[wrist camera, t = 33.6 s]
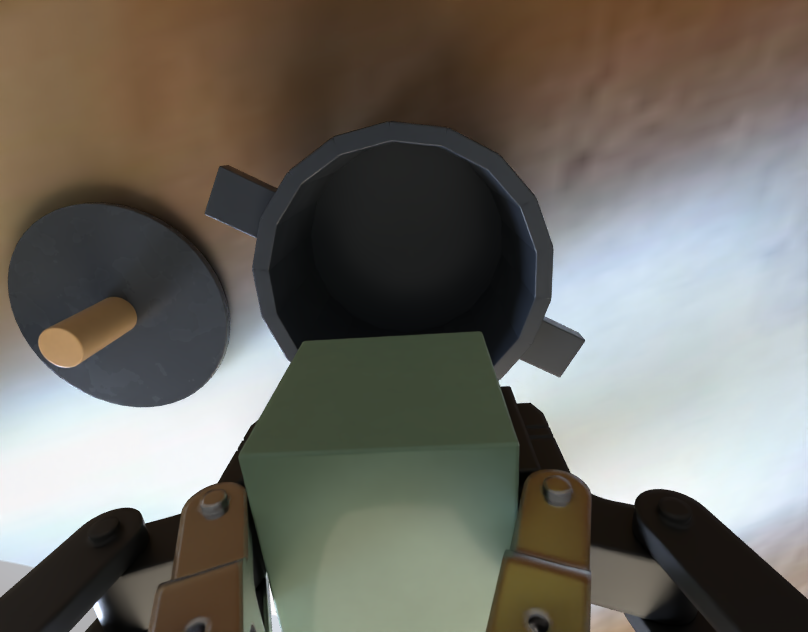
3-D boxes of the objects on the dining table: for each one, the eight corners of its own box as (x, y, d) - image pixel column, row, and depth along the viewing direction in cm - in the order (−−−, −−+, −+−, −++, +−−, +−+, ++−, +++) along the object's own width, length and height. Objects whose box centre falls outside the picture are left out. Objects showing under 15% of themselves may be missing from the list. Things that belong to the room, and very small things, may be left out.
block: (484, 476, 14) (516, 640, 10) (326, 482, 15) (283, 644, 10) (482, 329, 12) (520, 443, 8) (302, 339, 13) (235, 455, 8)
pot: (482, 382, 34) (506, 467, 25) (235, 271, 31) (164, 323, 22) (589, 210, 29) (664, 241, 20) (309, 63, 27) (255, 26, 18)
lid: (200, 427, 36) (154, 487, 30) (7, 351, 34) (-85, 398, 28) (262, 261, 31) (223, 291, 25) (40, 160, 29) (-63, 165, 23)
